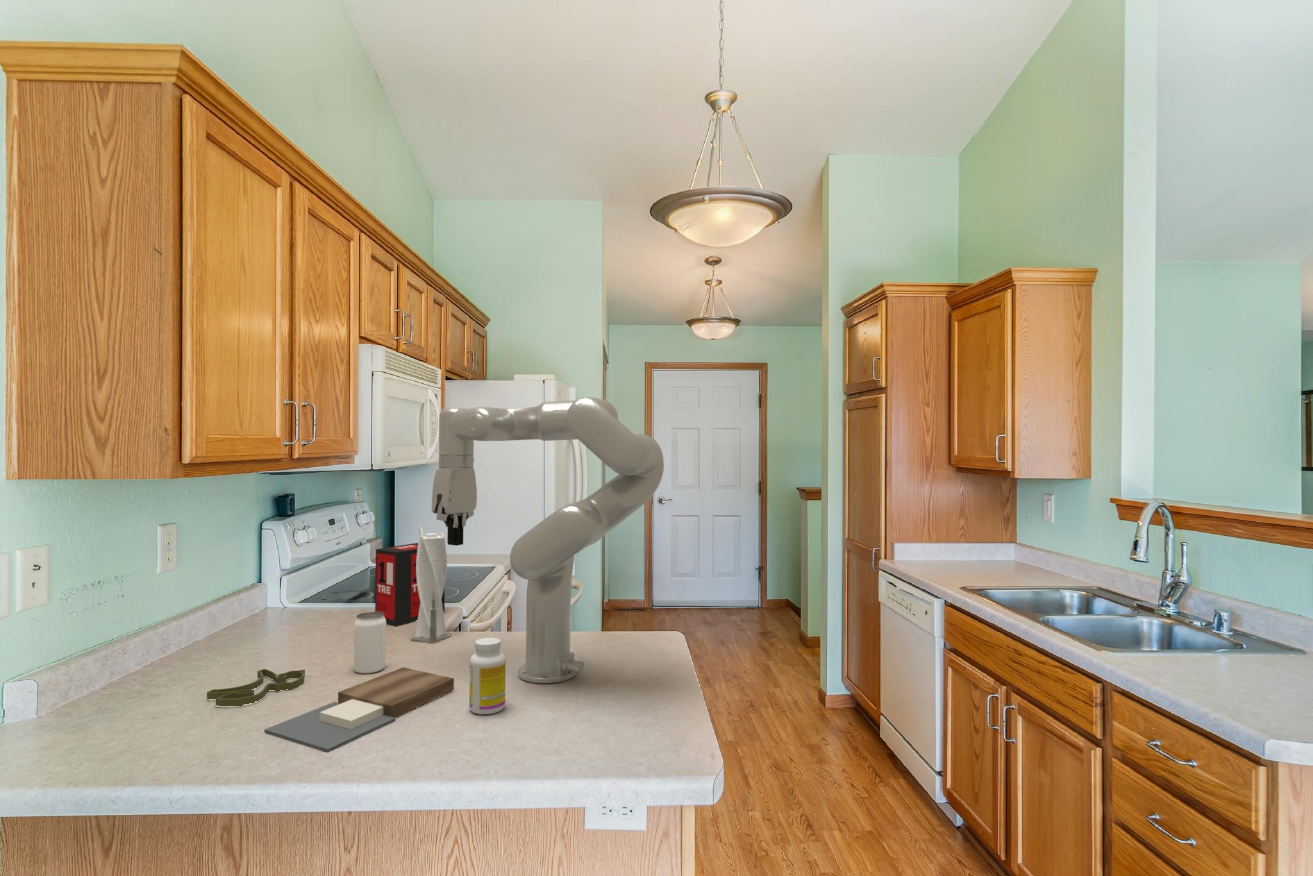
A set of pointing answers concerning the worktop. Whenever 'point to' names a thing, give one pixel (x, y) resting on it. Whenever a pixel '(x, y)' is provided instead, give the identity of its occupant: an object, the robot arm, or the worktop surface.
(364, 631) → the can
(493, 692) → the supplement bottle
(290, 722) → the mat
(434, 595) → the skyscraper
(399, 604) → the cleaning product box
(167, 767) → the worktop surface
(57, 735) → the worktop surface
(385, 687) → the brown wooden flat block
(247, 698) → the cookie cutter
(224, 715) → the worktop surface
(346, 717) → the tile
